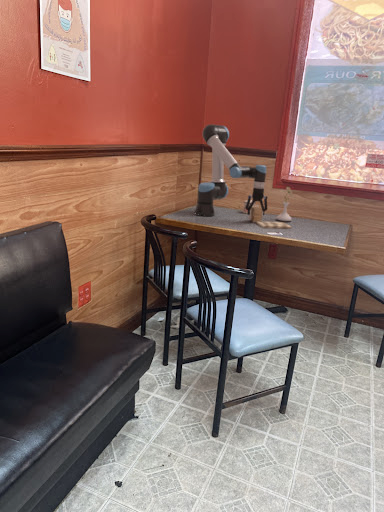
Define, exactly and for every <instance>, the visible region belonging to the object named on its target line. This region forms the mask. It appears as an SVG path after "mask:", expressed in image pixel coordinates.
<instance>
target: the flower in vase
mask: <svg viewBox="0 0 384 512" xmlns="http://www.w3.org/2000/svg"><path fill="white" fill-rule="evenodd" d="M286 191H287V193H286V195H285V196H284V201H282V205H283V210H282V212H280V214H277V216H276V217H275V218H276V220H278V221H279V222H290V221H292V217H291V216H290V215H289V213H288V212H287V209H288V206H289V204H290V202H288V200H289V198H287V195H288V196H290V197H293V191H292V189H291V188H290V187H289V186H286Z"/></svg>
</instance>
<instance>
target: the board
mask: <svg viewBox="0 0 384 512" xmlns="http://www.w3.org/2000/svg"><path fill="white" fill-rule="evenodd" d="M255 224H256V225H258V226H260V228H262V229H282V230H283V229H284V230H285V229H286V230H291V229H292V226H291V225H289V224H287V223H286V222H285V221H261V222H259V221H256V223H255Z"/></svg>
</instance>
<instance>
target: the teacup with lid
mask: <svg viewBox="0 0 384 512" xmlns="http://www.w3.org/2000/svg"><path fill="white" fill-rule="evenodd" d="M252 200H253V199H251V200H250V204H251V202H252ZM247 201H248V199H246V200H243V210H242V212H243V214H246V215H248V214H247V213H248V210H247V209H245V208H246V204H247ZM250 204H249V206H250ZM252 207H259V205H258V204H256V202H255V203H254V204H253V206H252Z"/></svg>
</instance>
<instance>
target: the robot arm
mask: <svg viewBox="0 0 384 512" xmlns="http://www.w3.org/2000/svg"><path fill="white" fill-rule="evenodd" d="M229 137H230V131H229V129H228V128H227V127H226V126H224V125H222V124H207V125H206V126H204V128H203V130H202V138H203V140H204V142H205V144H207V145H208V146H210V148H211V149H212V152H211V156H212V158H211V159H212V163H211V166H212V167H211V169H212V170H211V175H212V176H211V180H210V181H209V182H208V181H207V182H206V181H205V182H202V183H199V184H198V190H197V191H198V192H197V204H196V207H195V209H194V213H196V214H199V215H205V216H204V217H215V209H214V208H215V207H214V201H215V200H216V201H217V200H219V201H220V200H224V199H225V198H226V197H228V194H229V187H228V185H227V184H226V181H225V179H224V171H225V170H224V169H225V168H224V165H225V167H226V168H227V169H228V170H229V176H230V177H231V178H232V179H245V178H247V179H253V189H252V194H251V195H247V200H248V201H247V204H246V208H245V209H247V210H248V213H247V214H246V215H247V216H248V217H247V219H248V221H250V217H251V208H252V206H253V204H254V203H255V204H256V202H259V203H260V207H261V209H262V213H261V221H263V218H264V216H265V212H266V211H268V196H267V195H264V193H265V184H266V176H267V166H266V165H263V164H262V165H261V164H256V165H255V167H253V166H247V165H245V166H244V165H243V166H241V165H240V164H239V163H238V162H237V160H236V159H235V158H234V157H233V155H232V153H230V151H229V150H228V149H227V148H226V145H227V141H228V140H229ZM250 200H252V202H251V204H250ZM249 204H250V206H249ZM194 213H193V214H194ZM199 215H198V216H199Z"/></svg>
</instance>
